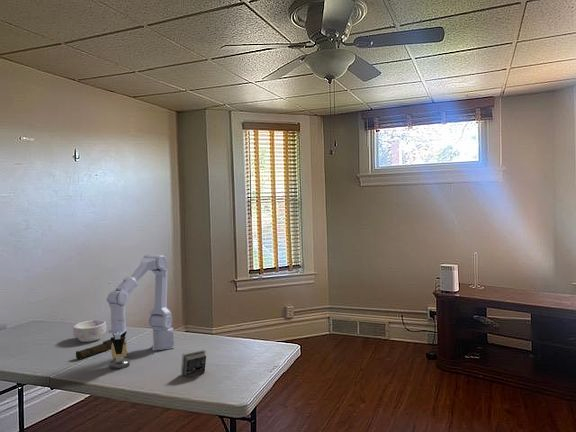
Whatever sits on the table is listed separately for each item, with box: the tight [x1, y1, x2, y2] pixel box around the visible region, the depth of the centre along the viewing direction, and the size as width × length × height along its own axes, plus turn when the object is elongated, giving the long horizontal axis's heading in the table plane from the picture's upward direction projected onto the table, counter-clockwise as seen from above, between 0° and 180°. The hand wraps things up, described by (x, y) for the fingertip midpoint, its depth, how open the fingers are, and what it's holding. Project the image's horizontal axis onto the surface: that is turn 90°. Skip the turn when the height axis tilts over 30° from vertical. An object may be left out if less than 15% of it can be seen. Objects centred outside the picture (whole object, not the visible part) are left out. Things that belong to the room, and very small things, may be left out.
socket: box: [110, 340, 128, 359], centre depth 181 cm, size 6×6×6 cm
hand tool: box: [75, 338, 112, 361], centre depth 197 cm, size 19×4×5 cm, turn 144°
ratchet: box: [109, 356, 131, 371], centre depth 187 cm, size 20×8×5 cm, turn 17°
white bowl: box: [72, 319, 107, 343], centre depth 219 cm, size 15×15×8 cm
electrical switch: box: [180, 348, 207, 378], centre depth 170 cm, size 9×5×9 cm, turn 122°
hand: (119, 351), depth 181 cm, fingers closed on socket, 6 cm apart
